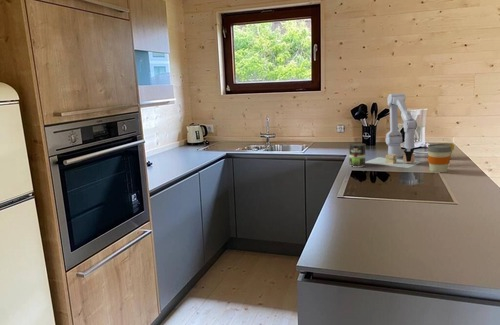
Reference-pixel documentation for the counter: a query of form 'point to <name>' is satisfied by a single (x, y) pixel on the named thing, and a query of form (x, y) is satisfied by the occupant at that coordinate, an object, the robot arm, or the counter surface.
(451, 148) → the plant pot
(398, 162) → the pale blue flat sheet
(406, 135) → the robot arm
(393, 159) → the maple block
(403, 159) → the terracotta block
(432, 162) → the reusable coffee cup
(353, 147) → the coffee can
